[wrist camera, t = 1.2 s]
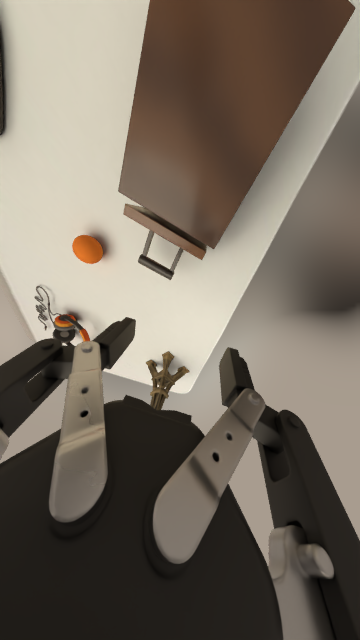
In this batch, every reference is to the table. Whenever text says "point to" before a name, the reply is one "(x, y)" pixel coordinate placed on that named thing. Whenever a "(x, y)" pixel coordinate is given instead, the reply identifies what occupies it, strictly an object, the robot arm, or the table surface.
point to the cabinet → (218, 100)
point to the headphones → (62, 324)
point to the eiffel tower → (163, 380)
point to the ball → (87, 249)
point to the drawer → (165, 231)
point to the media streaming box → (1, 98)
